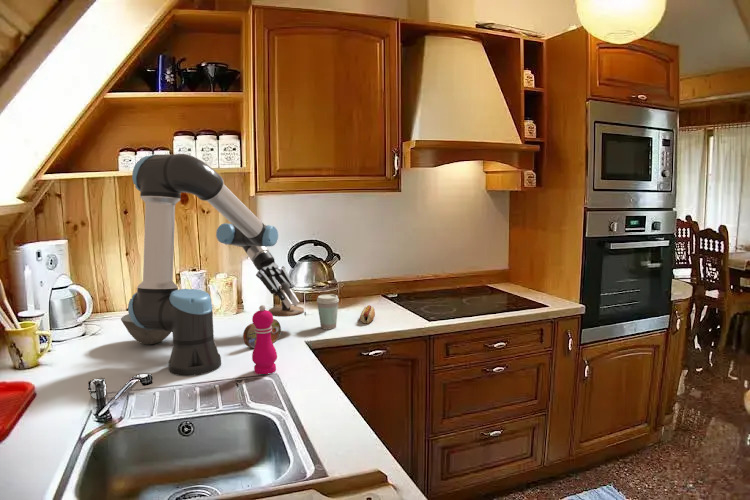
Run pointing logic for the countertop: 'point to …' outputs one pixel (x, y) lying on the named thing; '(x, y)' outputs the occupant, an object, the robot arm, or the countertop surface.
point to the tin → (251, 336)
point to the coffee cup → (328, 310)
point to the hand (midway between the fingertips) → (293, 305)
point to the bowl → (143, 332)
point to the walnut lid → (283, 310)
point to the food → (367, 314)
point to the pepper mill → (263, 343)
